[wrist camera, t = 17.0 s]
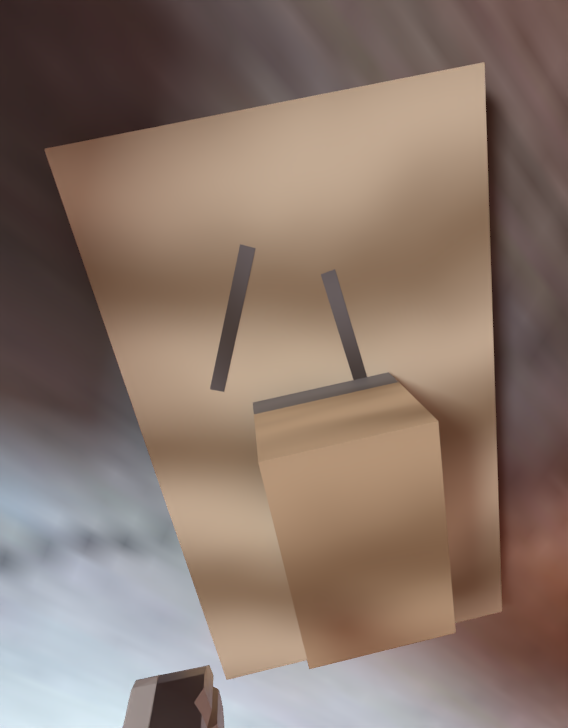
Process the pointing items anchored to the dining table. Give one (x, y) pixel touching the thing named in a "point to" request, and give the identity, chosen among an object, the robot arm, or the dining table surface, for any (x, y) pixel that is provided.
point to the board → (296, 312)
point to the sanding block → (358, 515)
